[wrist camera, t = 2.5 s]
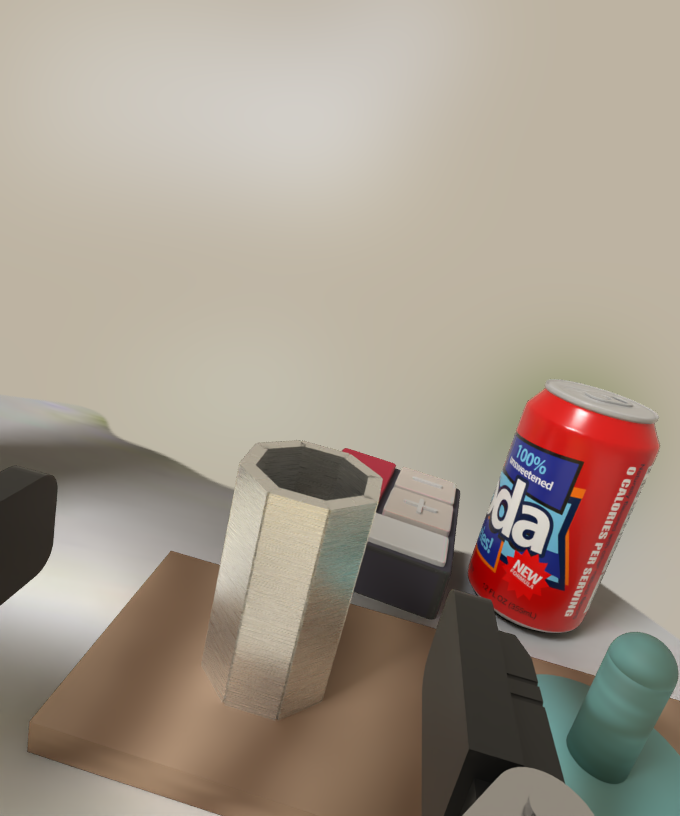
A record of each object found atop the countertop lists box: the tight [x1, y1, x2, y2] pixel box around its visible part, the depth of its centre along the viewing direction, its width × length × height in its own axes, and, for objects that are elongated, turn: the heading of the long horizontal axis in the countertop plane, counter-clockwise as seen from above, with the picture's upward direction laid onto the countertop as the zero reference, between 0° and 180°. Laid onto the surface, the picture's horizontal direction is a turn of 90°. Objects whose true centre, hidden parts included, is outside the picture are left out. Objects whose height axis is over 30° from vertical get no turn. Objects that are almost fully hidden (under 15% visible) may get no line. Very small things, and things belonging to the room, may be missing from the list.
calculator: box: [342, 448, 460, 619], centre depth 41 cm, size 11×4×15 cm
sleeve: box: [201, 440, 383, 721], centre depth 24 cm, size 6×6×10 cm
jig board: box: [27, 551, 680, 816], centre depth 24 cm, size 30×12×8 cm, turn 81°
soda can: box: [468, 379, 660, 633], centre depth 36 cm, size 8×8×15 cm
